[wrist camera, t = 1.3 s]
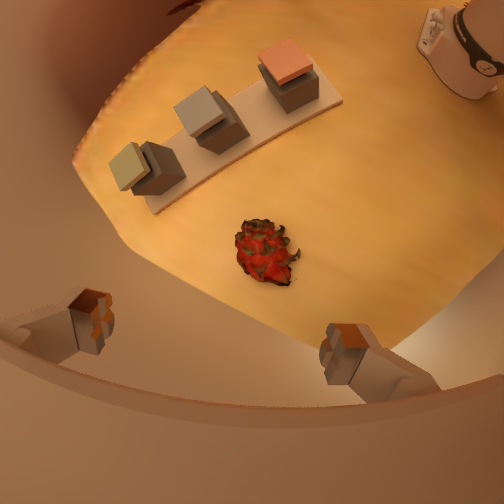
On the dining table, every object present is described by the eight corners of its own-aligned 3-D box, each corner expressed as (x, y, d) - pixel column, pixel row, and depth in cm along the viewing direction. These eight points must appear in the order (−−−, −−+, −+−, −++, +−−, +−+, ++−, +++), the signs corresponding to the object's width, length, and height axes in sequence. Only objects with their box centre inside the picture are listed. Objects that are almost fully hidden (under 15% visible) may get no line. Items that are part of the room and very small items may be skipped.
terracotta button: (294, 53, 30) (290, 37, 26) (313, 78, 31) (313, 63, 26) (263, 69, 32) (256, 54, 27) (282, 94, 32) (277, 80, 28)
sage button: (149, 146, 38) (131, 141, 33) (161, 172, 38) (144, 170, 33) (126, 165, 39) (108, 163, 35) (138, 191, 39) (120, 190, 35)
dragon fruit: (254, 210, 46) (291, 268, 48) (213, 238, 43) (255, 299, 45) (277, 199, 38) (319, 269, 40) (229, 232, 35) (278, 305, 37)
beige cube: (217, 96, 34) (204, 85, 30) (233, 122, 34) (222, 113, 30) (188, 116, 35) (173, 107, 31) (203, 142, 36) (188, 135, 31)
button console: (309, 58, 37) (306, 29, 28) (342, 102, 38) (347, 78, 29) (136, 170, 48) (103, 166, 39) (157, 214, 48) (125, 217, 39)
